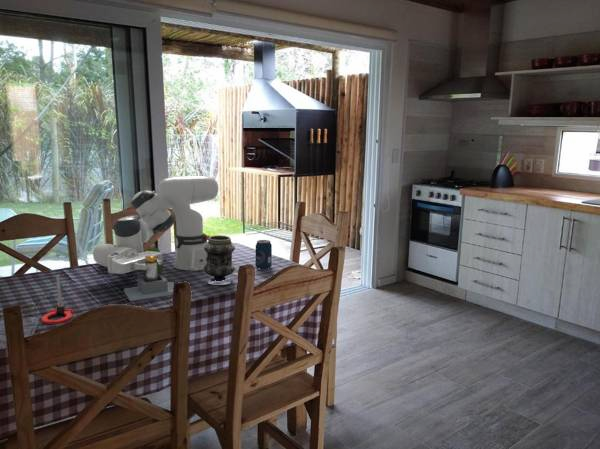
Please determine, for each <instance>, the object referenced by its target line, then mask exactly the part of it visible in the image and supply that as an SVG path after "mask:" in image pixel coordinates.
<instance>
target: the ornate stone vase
mask: <svg viewBox="0 0 600 449" xmlns="http://www.w3.org/2000/svg"><path fill="white" fill-rule="evenodd" d="M209 236H210V237H209V240H207V243H206V244H205V246H204V250H205V251H206V252H207V263H206V264H205V266H204V270H203V271H204V273H205V274H207V275H208V276H211V278H209V279H210V280H211V281H215V280H216V281H222V280H225V279H226V278H225V277H227V276H231V275H232V274H233V273H234V272H235V271H236V270H235V269H236V266H235V264H234V263H233V261H232V260H233V252H234V251H235V250H236V246H235V244H234V243H233V242H232V239H231V236H228V235H220V234H219V235H209Z"/></svg>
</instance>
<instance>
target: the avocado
mask: <svg viewBox="0 0 600 449" xmlns="http://www.w3.org/2000/svg"><path fill="white" fill-rule="evenodd" d="M147 251H155V252H161V251H160V249H159V248H158V247H154V246H153V247H150V248H148V250H147ZM163 262H164V261H163ZM163 262H162V265H159V266H157V275H159V274H161V273H162V270H163V267H164V263H163ZM143 273H145V275H146V270H143Z"/></svg>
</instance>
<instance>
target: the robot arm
mask: <svg viewBox="0 0 600 449" xmlns="http://www.w3.org/2000/svg"><path fill="white" fill-rule="evenodd" d="M218 193H219V185H218V182H217V181H216V179H215V178H214V177H211V176H206V175H205V176H204V175H190V176H186V175H185V176H171V177H168V178H167V177H166V178H163V179H161V180H160V182H159V184H158V186H157V193H156V191H155V190H147V189H145V190H141V191H138V192H137V193H135V194H134V195H133V197H132V198H131V202H130V204H131V207H132V208H133V209H134V210H135V211H136V213H138V214H131V215H130V214H129V215H127V216H125V217H122V218H117V220H115V222H114V223H113V224H112V228H113V231H114V238H115V244H112V243H98V244H97V245H95V247H94V248H93V252H92V256H93V260H94V262H95V263H96V264H98V265H100V266H103V267H104V266H105V267H108V270H107V273H109V274H117V275H124V274H127V273H131V272H134V271H139V270H141V271H144V270H146V269H148V264H146V262H145V257H146V256H152V255H154V256H157V266H159V265H162V262H164V254H163V252H161V251H160V252H155V251H148V250H146V251H144V246H143V244H144V243H145V242H146V241H148V239H149V237H150V235H151V232H152V233H165V232H167V231H169V230H170V229H171V228H172V227H173V226H174V223H175V226H176V234H175V239H174V240H175V249H176V251H175V252H176V253H175V260H174V263H173V268H175V269H178V270H182V271H193V272H199V271H198V270H201V271H203V270H202V269H204V266H205V264H206V263H207V252H206V251H205V250H204V246H205V244H206V243H207V242H208V240H209V237H210V236H211V235H209V234H206V233H204V221H203V220H204V219H203V216H202V214H201V213H200V212H198V211H196V210H194V209H192V208H191V206H190V205H194V204H198V203H203V202H208V201H212V200H214V199H216V197H217V195H218ZM168 209H170V210H172V212H173V213H174V214H173V213H171V212H170V210H168Z"/></svg>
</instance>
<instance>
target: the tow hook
mask: <svg viewBox="0 0 600 449" xmlns="http://www.w3.org/2000/svg"><path fill="white" fill-rule="evenodd" d="M56 290H57V291H56V292H57V306H56V309H50V311H49V312H47V313H46V314H44V315H43V316H42V317H41V322H42V323H43V324H47V325H55V323H58V324H61V323H65V322H67V321H69V320H70V319H72V318H73V313H74V309H73V308H66V305H65V304H64V303H65V302H64V298H63V291H62V282H61V277H60V274H59V275H56ZM57 315H63V316H65V317H61V318H59V319H49V318H52V317H54V316H57Z"/></svg>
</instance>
